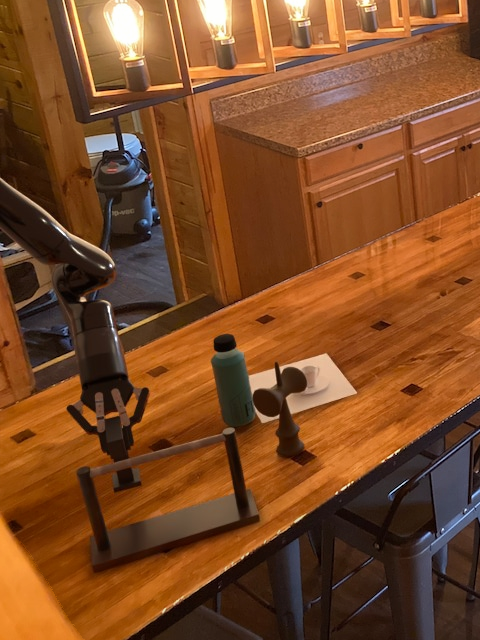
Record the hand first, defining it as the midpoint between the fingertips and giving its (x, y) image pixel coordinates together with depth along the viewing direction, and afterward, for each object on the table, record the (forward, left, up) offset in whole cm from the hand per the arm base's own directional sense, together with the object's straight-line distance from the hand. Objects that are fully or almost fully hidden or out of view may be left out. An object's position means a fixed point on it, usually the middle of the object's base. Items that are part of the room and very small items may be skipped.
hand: (119, 451), depth 164 cm
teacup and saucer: (+34, +26, -12) cm, 45 cm away
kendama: (+28, +3, -12) cm, 31 cm away
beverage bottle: (+21, +17, -12) cm, 30 cm away
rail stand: (+6, -11, -12) cm, 17 cm away
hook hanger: (0, 0, -8) cm, 8 cm away
